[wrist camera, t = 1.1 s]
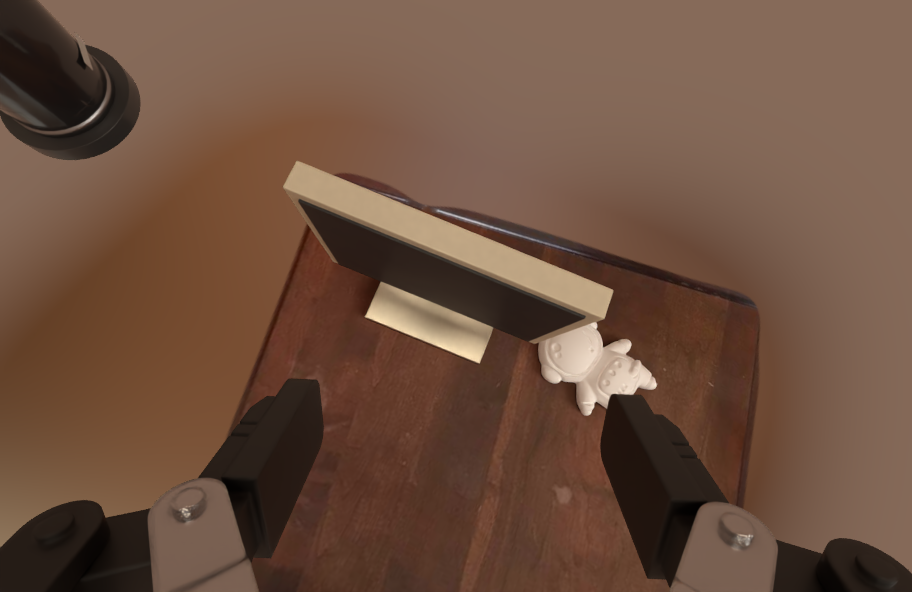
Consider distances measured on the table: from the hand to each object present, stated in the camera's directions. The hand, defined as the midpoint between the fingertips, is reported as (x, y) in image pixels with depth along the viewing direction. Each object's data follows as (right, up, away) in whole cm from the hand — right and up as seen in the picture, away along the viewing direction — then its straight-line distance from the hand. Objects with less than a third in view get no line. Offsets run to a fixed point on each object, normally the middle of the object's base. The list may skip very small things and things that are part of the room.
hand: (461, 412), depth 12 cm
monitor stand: (-2, +3, +32) cm, 32 cm away
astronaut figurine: (+14, -4, +32) cm, 35 cm away
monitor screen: (-2, +3, +22) cm, 22 cm away
